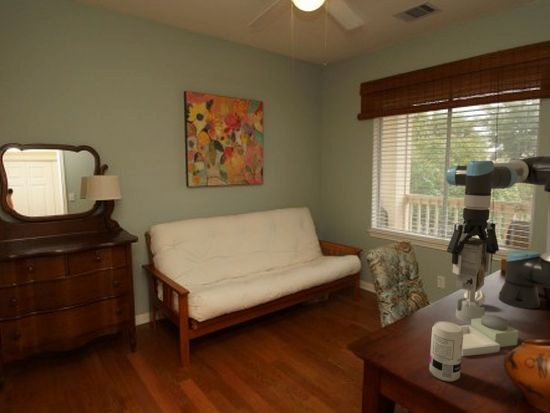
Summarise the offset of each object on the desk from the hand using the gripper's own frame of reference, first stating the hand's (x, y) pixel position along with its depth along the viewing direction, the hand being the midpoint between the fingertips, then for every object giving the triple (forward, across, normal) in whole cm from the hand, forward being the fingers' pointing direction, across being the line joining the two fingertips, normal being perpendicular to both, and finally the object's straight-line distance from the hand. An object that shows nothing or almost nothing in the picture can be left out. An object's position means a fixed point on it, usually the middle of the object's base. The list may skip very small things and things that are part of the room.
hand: (471, 272), depth 117 cm
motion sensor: (+26, -26, -26) cm, 45 cm away
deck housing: (+25, -5, 0) cm, 26 cm away
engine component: (+26, -16, -17) cm, 35 cm away
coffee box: (+5, 0, 0) cm, 5 cm away
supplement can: (+26, +19, +14) cm, 35 cm away
